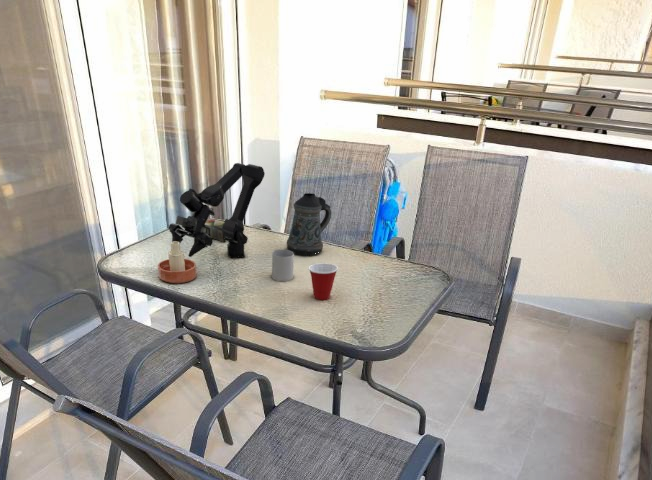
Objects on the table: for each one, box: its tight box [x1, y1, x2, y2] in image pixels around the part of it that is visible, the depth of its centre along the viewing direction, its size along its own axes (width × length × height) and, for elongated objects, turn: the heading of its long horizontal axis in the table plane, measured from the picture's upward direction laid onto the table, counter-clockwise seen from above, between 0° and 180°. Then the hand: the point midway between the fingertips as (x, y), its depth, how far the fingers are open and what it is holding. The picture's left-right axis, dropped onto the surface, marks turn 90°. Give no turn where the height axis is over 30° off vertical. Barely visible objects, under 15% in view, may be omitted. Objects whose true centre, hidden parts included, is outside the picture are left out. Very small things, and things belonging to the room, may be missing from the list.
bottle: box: [168, 241, 185, 272], centre depth 193 cm, size 6×6×13 cm
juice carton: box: [201, 217, 226, 243], centre depth 239 cm, size 20×10×6 cm, turn 54°
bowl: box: [157, 258, 198, 284], centre depth 195 cm, size 14×14×5 cm
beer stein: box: [286, 192, 332, 257], centre depth 225 cm, size 16×19×25 cm
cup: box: [271, 249, 295, 282], centre depth 200 cm, size 8×8×10 cm
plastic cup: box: [308, 262, 339, 301], centre depth 186 cm, size 11×11×12 cm
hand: (180, 253), depth 194 cm, fingers open, 9 cm apart
